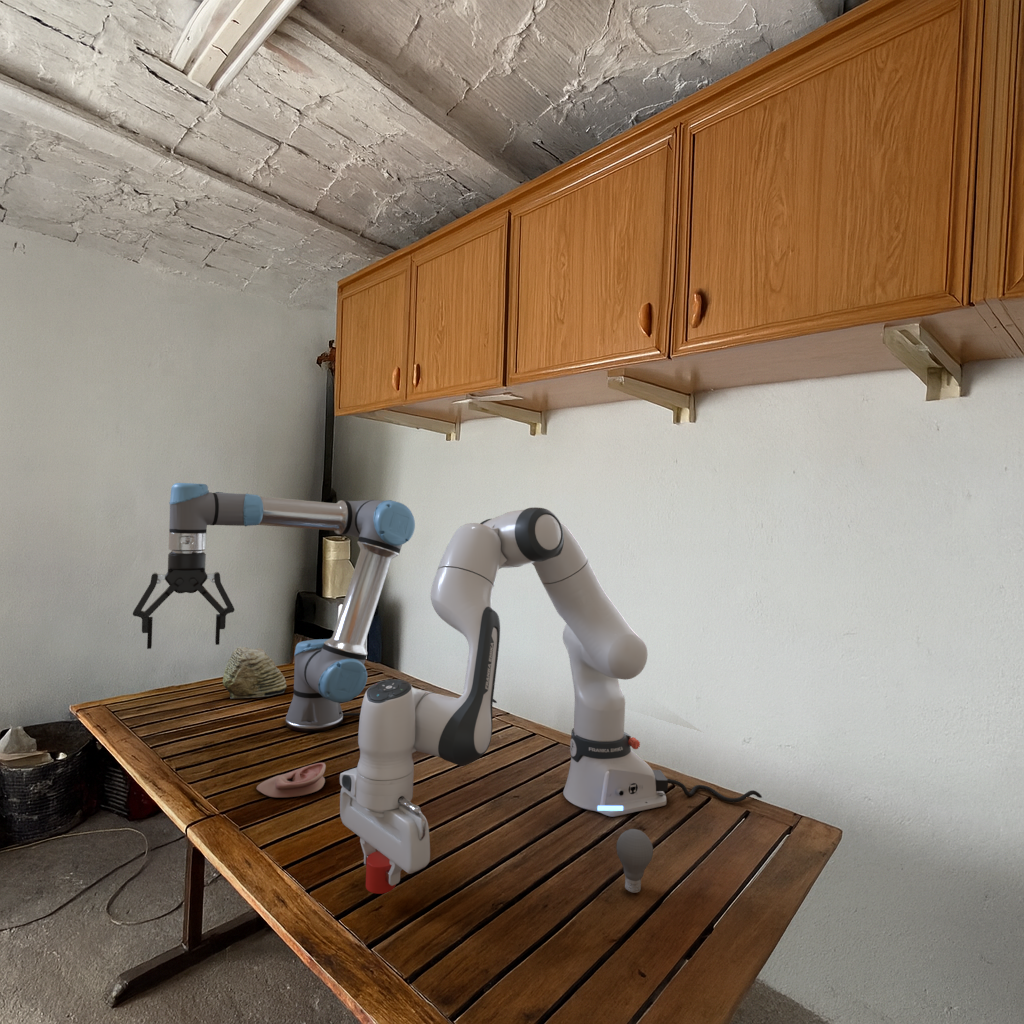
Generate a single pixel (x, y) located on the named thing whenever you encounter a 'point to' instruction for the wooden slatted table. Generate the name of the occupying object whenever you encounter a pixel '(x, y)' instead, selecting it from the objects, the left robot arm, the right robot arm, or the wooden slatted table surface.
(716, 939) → the wooden slatted table surface
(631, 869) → the light bulb
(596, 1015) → the wooden slatted table surface
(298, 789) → the anatomical model
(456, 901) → the wooden slatted table surface
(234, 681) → the fossil
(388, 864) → the red cylinder
